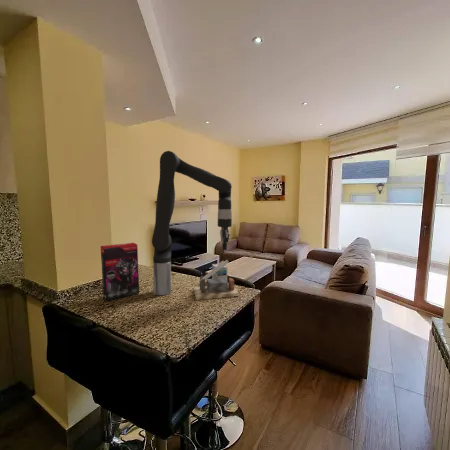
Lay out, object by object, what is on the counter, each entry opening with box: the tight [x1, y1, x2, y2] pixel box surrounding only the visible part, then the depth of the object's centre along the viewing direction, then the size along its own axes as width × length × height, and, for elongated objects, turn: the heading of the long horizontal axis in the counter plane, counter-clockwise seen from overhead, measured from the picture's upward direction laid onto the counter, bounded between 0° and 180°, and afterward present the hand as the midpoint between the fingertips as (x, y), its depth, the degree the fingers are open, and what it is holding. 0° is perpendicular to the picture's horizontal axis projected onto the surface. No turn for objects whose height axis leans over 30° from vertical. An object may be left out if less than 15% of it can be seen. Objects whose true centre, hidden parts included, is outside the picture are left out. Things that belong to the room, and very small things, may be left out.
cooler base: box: [193, 275, 239, 301], centre depth 136 cm, size 22×14×9 cm, turn 103°
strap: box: [199, 259, 230, 281], centre depth 135 cm, size 18×4×2 cm
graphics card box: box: [100, 242, 140, 302], centre depth 130 cm, size 17×7×27 cm, turn 132°
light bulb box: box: [211, 263, 228, 282], centre depth 154 cm, size 11×7×11 cm, turn 22°
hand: (224, 249), depth 135 cm, fingers closed
